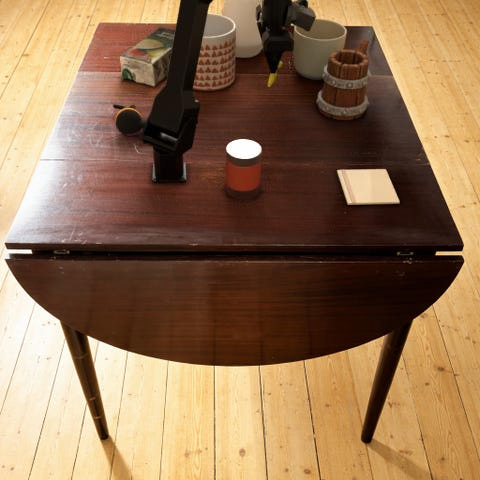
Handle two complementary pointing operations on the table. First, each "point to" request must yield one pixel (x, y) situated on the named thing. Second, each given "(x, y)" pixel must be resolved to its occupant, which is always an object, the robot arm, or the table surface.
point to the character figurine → (128, 120)
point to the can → (243, 169)
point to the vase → (216, 54)
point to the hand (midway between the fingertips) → (271, 66)
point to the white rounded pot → (244, 26)
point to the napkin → (367, 187)
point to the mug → (345, 84)
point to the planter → (317, 47)
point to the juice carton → (149, 58)
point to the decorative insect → (273, 75)
